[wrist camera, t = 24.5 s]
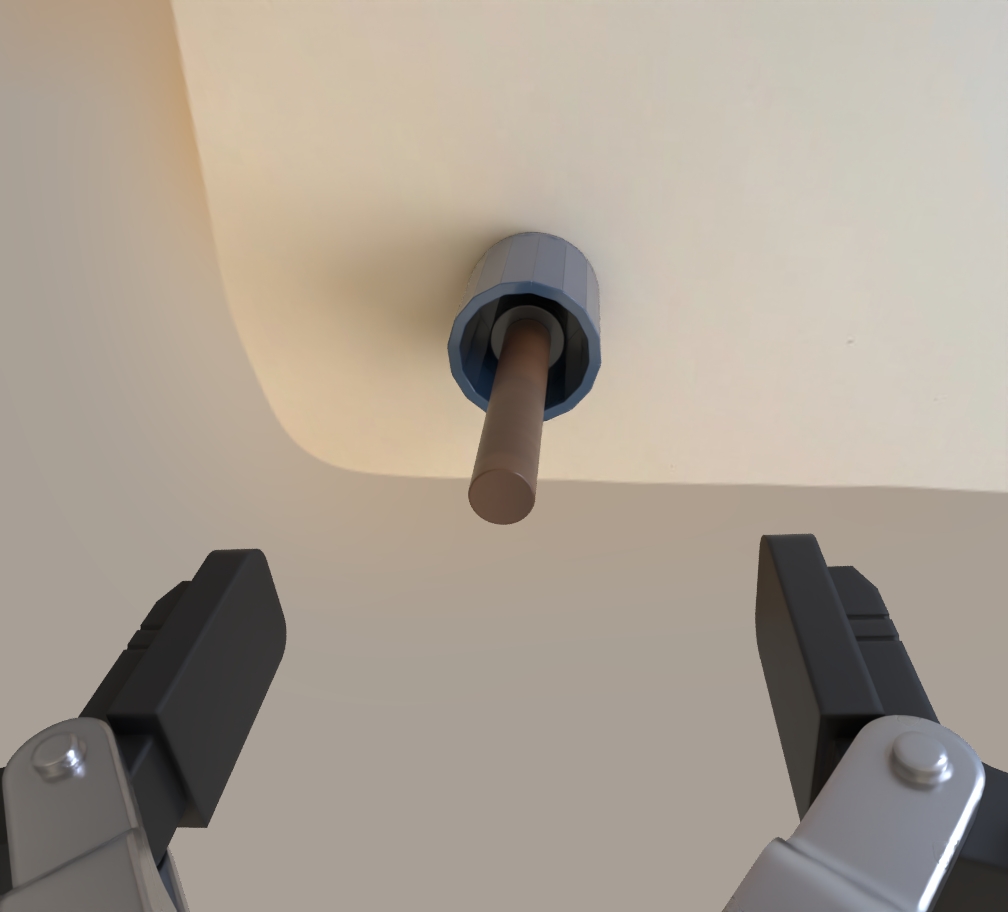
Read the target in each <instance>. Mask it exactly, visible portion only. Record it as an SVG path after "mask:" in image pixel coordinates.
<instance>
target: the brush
mask: <svg viewBox="0 0 1008 912" xmlns="http://www.w3.org/2000/svg"><path fill="white" fill-rule="evenodd" d="M566 325H567V310H566V309H565V308H564V307H563V306H562V305H560V304H559V303H558V302H557V301H555V300H552V299H548V298H545V297H542V296H539V295H535V294H532V293H524V294H511V295H504V296H502V297H500V299H499V302H498V306H497V310H496V313H495V317H494V321H493V325H492V328H491V332H490V345H491V349H492V352H493V354H494V356H495V357H496V359H497V360H498V365H497V370H496V374H495V378H494V383H493V387H492V391H491V396H490V400H489V404H488V409H487V413H486V417H485V422H484V426H483V430H482V435H481V439H480V443H479V448H478V452H477V456H476V461H475V465H474V469H473V474H472V478H471V483H470V487H469V492H468V497H469V502H470V505H471V507H472V508H473V510H474V511H475V512H476V513H477V514H478V515H479V516H480V517H481V518H483V519H484V520H486V521H488V522H491V523H494V524H503V525H504V524H505V525H506V524H512V523H516V522H518V521H520V520H522V519H524V518H525V517H526V516H527V515H528V514H529V513H530V511H531V510H532V508H533V506H534V502H535V494H536V484H537V474H538V464H539V455H540V445H541V435H542V426H543V416H544V406H545V396H546V387H547V377H548V369H550V368H551V367H552V366H554V365H555V364H556V363H557V362H558V360H559V359H560V357H561V356H562V354H563V351H564V348H565V340H566Z"/></svg>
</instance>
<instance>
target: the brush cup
mask: <svg viewBox="0 0 1008 912" xmlns="http://www.w3.org/2000/svg"><path fill="white" fill-rule="evenodd" d="M524 293H532V294H535V295H539V296H542V297H545V298H548V299H552V300H555V301H557V302H558V303H559V304H560V305H562V306H563V307H564V308H565V309H566V310H567V325H566V340H565V348H564V351H563V354H562V356H561V357H560V359H559V360H558V362H557V363H556V364H555V365H554V366H552V367H551V368H550V369H548V377H547V387H546V396H545V406H544V416H543V421H547V420H550V419H552V418H554V417H556V416H559V415H561V414H563V413H566V412H568V411H570V410H571V409H573V408H574V407H575V406H576V405H577V404H578V403H579V402H580V401H581V400H582V399H583V398H584V397H585V396H586V395H587V394H588V393H589V392H590V390H591V389H592V387H593V384H594V381H595V379H596V376H597V374H598V371H599V369H600V366H601V339H600V305H599V287H598V281H597V279H596V275H595V273H594V271H593V268H592V266H591V265H590V263H589V261H588V260H587V259H586V257H585V256H584V255H583V254H582V253H581V252H580V251H579V250H578V249H577V248H576V247H575V246H573V245H572V244H571V243H569V242H567V241H565V240H564V239H562V238H559V237H557V236H554V235H550V234H546V233H538V232H528V233H521V234H517V235H513V236H510V237H508V238H505V239H503V240H501V241H500V242H498V243H496V244H495V245H494V246H492V247H491V248H490V249H489V250H488V251H487V252H486V253H485V254H484V255H483V256H482V258H481V259H480V261H479V262H478V264H477V265H476V267H475V268H474V270H473V272H472V275H471V278H470V280H469V283H468V285H467V288H466V291H465V293H464V296H463V299H462V301H461V304H460V306H459V309H458V312H457V314H456V317H455V320H454V323H453V327H452V330H451V334H450V337H449V341H448V347H447V349H448V355H449V362H450V368H451V373H452V375H453V377H454V379H455V380H456V382H457V384H458V385H459V387H460V388H461V390H462V392H463V393H464V395H465V396H466V397H467V399H469V400H470V401H471V402H473V403H474V404H475V405H477V406H478V407H479V408H481V409H482V410H483V411H485V412H486V413H487V409H488V404H489V400H490V396H491V391H492V387H493V383H494V378H495V374H496V370H497V365H498V360H497V359H496V357H495V356H494V354H493V352H492V349H491V345H490V332H491V328H492V325H493V321H494V317H495V313H496V310H497V306H498V302H499V299H500V297H502V296H504V295H511V294H524Z"/></svg>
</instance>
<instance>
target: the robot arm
mask: <svg viewBox="0 0 1008 912" xmlns="http://www.w3.org/2000/svg"><path fill="white" fill-rule="evenodd" d="M755 623H756V637H757V645H758V651H759V655H760V659H761V663H762V667H763V671H764V675H765V680H766V683H767V688H768V691H769V696H770V700H771V704H772V708H773V712H774V716H775V720H776V724H777V728H778V732H779V736H780V741H781V744H782V749H783V752H784V757H785V761H786V765H787V769H788V773H789V776H790V781H791V785H792V789H793V793H794V797H795V801H796V806H797V810H798V814H799V818H800V824H799V826H798V827H797V829H796V830H795V832H794V833H793V835H792V836H791V837H790V838H789V839H788V840H787V841H785V840H783V839H782V838H779V837H777V838H775V839H774V840H772V841H771V842H770V843H769V844H768V845H767V846H766V847H765V849H764V850H763V851H762V853H761V854H760V855H759V857H758V859H757V860H756V861H755V863H754V864H753V866H752V867H751V869H750V870H749V872H748V873H747V875H746V876H745V878H744V879H743V881H742V882H741V884H740V885H739V887H738V888H737V890H736V891H735V893H734V894H733V896H732V897H731V899H730V900H729V902H728V903H727V905H726V906H725V908H724V909H723V911H722V912H1008V773H1006V772H1003V771H1001V770H998V769H996V768H993V767H991V766H989V765H987V764H985V763H983V762H981V761H980V758H979V757H978V755H977V754H976V752H975V751H974V750H973V749H972V748H971V746H970V745H969V744H968V743H967V742H966V741H965V740H963V739H962V738H961V737H960V736H959V735H957V734H956V733H954V732H953V731H951V730H950V729H948V728H946V727H944V726H942V725H941V724H940V723H939V721H938V719H937V717H936V715H935V712H934V710H933V708H932V706H931V704H930V702H929V700H928V697H927V695H926V693H925V691H924V689H923V686H922V684H921V682H920V680H919V678H918V676H917V673H916V671H915V669H914V667H913V665H912V662H911V660H910V658H909V656H908V654H907V652H906V650H905V647H904V645H903V643H902V641H899V634H898V632H897V630H896V628H895V626H894V624H893V621H892V620H891V619H890V618H889V613H888V610H887V608H886V607H885V604H884V602H883V600H882V597H881V595H880V593H879V591H878V589H877V588H876V587H875V586H874V585H873V584H872V583H871V582H870V581H868V580H867V579H866V578H865V577H864V576H863V575H862V574H860V573H859V572H858V571H857V570H856V569H855V568H854V567H853V566H835V567H827V565H826V563H825V560H824V557H823V555H822V553H821V550H820V547H819V545H818V542H817V540H816V538H815V536H814V535H813V534H788V535H786V534H785V535H763V536H762V537H761V542H760V550H759V565H758V581H757V597H756V612H755ZM285 645H286V623H285V618H284V615H283V611H282V608H281V605H280V602H279V598H278V595H277V592H276V589H275V585H274V582H273V579H272V576H271V573H270V569H269V566H268V563H267V560H266V557H265V555H264V553H263V552H262V551H261V550H260V549H233V550H214V551H212V552H211V553H210V554H209V555H208V556H207V558H206V559H205V561H204V563H203V564H202V565H201V567H200V568H199V570H198V572H197V573H196V575H195V576H194V578H193V579H192V581H182V582H181V583H180V584H178V585H177V586H176V587H174V588H173V589H172V590H171V591H169V592H168V593H167V594H166V595H165V596H163V597H162V598H161V599H160V600H158V601H157V602H156V604H155V605H154V606H153V608H152V609H151V611H150V612H149V614H148V615H147V617H146V618H145V620H144V621H143V623H142V624H141V629H140V630H137V631H136V633H135V634H134V636H133V637H132V639H131V640H130V642H129V643H128V648H127V650H123V652H122V654H121V655H120V656H119V658H118V660H117V661H116V662H115V664H114V665H113V667H112V668H111V670H110V671H109V673H108V674H107V675H106V677H105V678H104V680H103V681H102V683H101V684H100V686H99V687H98V689H97V690H96V692H95V693H94V695H93V697H92V698H91V699H90V701H89V702H88V704H87V705H86V707H85V708H84V709H83V711H82V712H81V714H80V715H79V717H78V718H73V719H69V720H65V721H62V722H59V723H57V724H54V725H52V726H50V727H48V728H46V729H44V730H42V731H41V732H39V733H37V734H36V735H34V736H33V737H32V738H30V739H29V740H28V741H26V742H25V743H24V744H23V745H22V746H21V747H20V748H19V749H18V750H17V751H16V752H15V753H14V755H13V756H12V757H11V759H10V760H9V762H8V763H7V766H6V767H3V768H0V912H190V911H189V908H188V904H187V901H186V898H185V894H184V891H183V888H182V885H181V881H180V878H179V875H178V871H177V868H176V865H175V861H174V859H173V856H172V853H171V851H170V850H169V847H168V845H169V843H170V841H171V839H172V837H173V834H174V832H175V830H176V828H177V827H189V828H207V826H208V824H209V822H210V819H211V817H212V815H213V813H214V811H215V808H216V806H217V804H218V802H219V799H220V797H221V795H222V793H223V790H224V788H225V786H226V783H227V781H228V779H229V777H230V775H231V772H232V770H233V768H234V766H235V763H236V761H237V759H238V757H239V754H240V752H241V749H242V747H243V745H244V743H245V741H246V739H247V736H248V734H249V731H250V729H251V727H252V725H253V722H254V720H255V718H256V716H257V714H258V711H259V709H260V707H261V705H262V702H263V700H264V698H265V696H266V693H267V691H268V689H269V686H270V684H271V682H272V680H273V678H274V675H275V673H276V671H277V669H278V666H279V664H280V662H281V660H282V657H283V654H284V650H285Z"/></svg>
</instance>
